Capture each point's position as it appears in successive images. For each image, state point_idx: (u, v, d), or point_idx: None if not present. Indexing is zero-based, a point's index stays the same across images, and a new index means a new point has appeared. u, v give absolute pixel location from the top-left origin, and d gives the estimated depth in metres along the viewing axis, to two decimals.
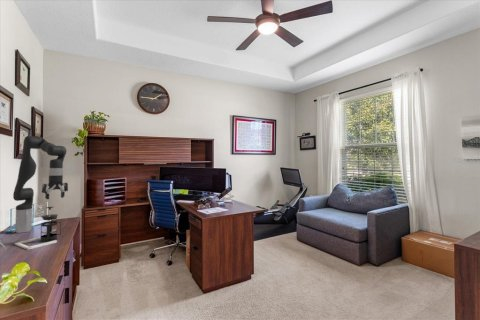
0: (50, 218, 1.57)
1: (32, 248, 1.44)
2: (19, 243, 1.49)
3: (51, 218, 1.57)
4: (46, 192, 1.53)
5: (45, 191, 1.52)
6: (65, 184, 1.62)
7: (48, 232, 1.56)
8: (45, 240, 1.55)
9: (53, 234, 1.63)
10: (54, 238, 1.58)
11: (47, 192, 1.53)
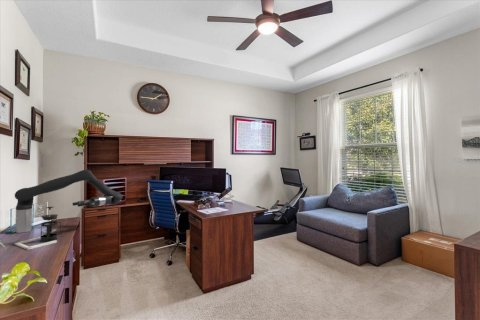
0: (50, 218, 1.57)
1: (32, 248, 1.44)
2: (19, 243, 1.49)
3: (51, 218, 1.57)
4: (85, 205, 1.76)
5: (87, 205, 1.76)
6: None
7: (48, 232, 1.56)
8: (45, 240, 1.55)
9: (53, 234, 1.63)
10: (54, 238, 1.58)
11: (85, 205, 1.76)
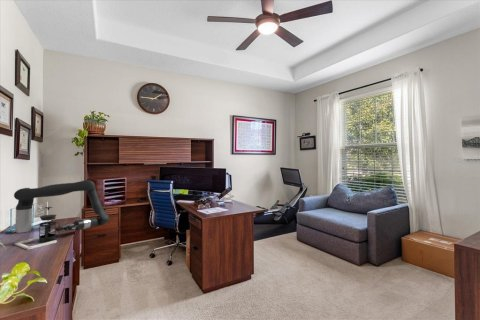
0: (48, 218, 1.56)
1: (32, 248, 1.44)
2: (19, 243, 1.49)
3: (49, 218, 1.56)
4: (64, 229, 1.66)
5: None
6: None
7: (46, 232, 1.55)
8: (43, 240, 1.54)
9: (52, 234, 1.63)
10: (52, 238, 1.57)
11: None
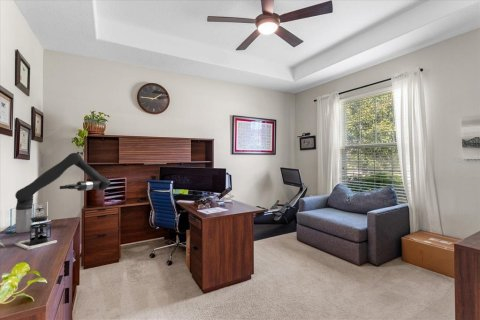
0: (38, 220, 1.51)
1: (32, 248, 1.44)
2: (19, 243, 1.49)
3: (39, 220, 1.51)
4: (68, 188, 1.75)
5: (69, 188, 1.75)
6: None
7: (36, 235, 1.50)
8: (33, 243, 1.49)
9: (44, 236, 1.58)
10: (43, 241, 1.52)
11: (67, 188, 1.75)
